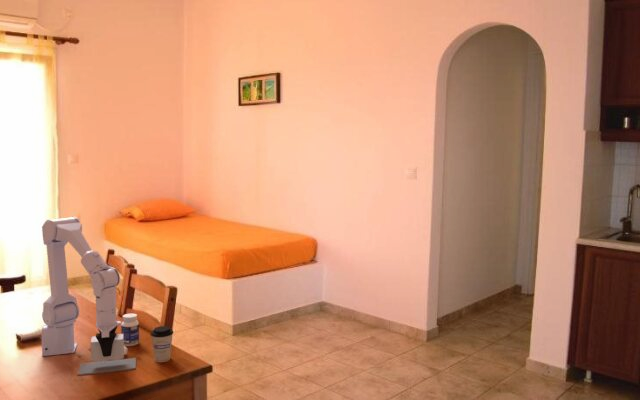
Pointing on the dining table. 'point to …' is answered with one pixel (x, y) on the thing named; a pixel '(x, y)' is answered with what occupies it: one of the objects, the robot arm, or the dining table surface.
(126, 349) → the cream marble
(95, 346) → the cover
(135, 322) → the pill bottle
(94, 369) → the mat
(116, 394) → the dining table surface
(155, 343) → the coffee cup
